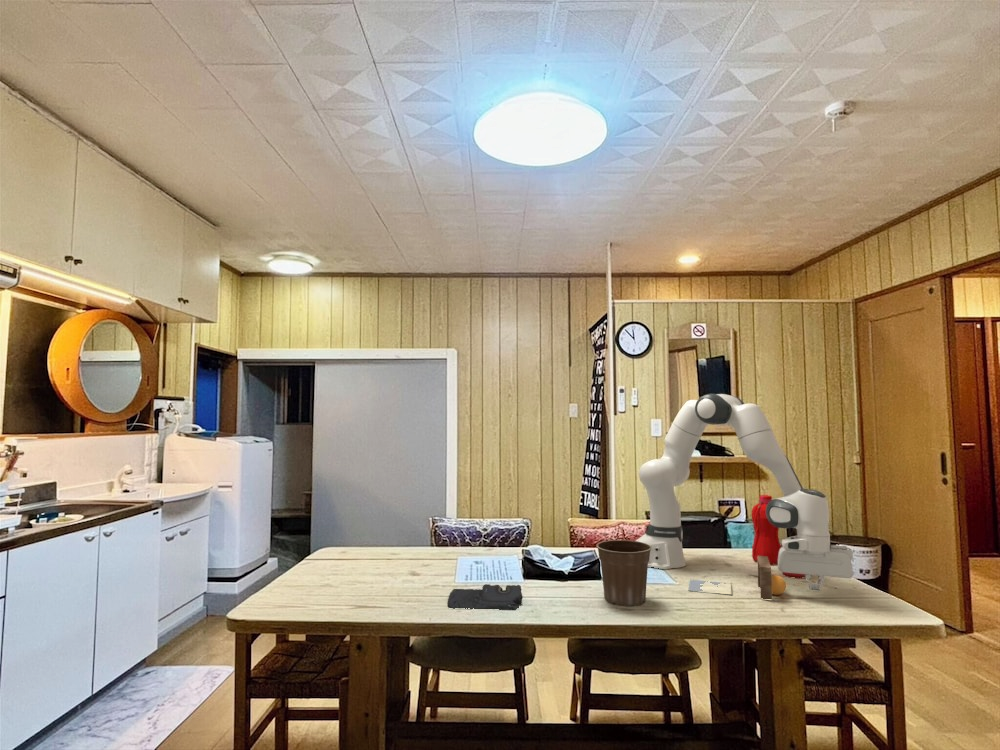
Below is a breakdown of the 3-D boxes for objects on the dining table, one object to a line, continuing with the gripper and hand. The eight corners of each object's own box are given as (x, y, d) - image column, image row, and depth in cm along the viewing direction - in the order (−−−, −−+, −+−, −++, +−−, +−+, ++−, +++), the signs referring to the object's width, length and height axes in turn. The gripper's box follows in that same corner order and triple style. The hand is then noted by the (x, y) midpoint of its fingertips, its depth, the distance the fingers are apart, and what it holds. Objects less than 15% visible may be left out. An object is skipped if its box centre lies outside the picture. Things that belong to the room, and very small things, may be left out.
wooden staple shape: (761, 599, 176) (760, 566, 177) (758, 586, 190) (757, 555, 191) (772, 600, 175) (771, 567, 176) (768, 587, 189) (767, 556, 190)
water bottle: (745, 561, 223) (743, 494, 224) (765, 558, 227) (764, 493, 229) (765, 566, 214) (763, 497, 216) (786, 563, 219) (784, 496, 221)
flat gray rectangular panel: (688, 590, 184) (688, 590, 184) (690, 580, 197) (690, 579, 197) (732, 595, 180) (732, 595, 180) (731, 584, 192) (731, 583, 192)
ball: (772, 573, 179) (791, 584, 178) (769, 568, 185) (787, 579, 183) (762, 590, 180) (781, 601, 178) (759, 584, 185) (777, 595, 184)
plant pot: (611, 611, 165) (611, 553, 166) (588, 594, 181) (587, 541, 182) (662, 606, 170) (661, 550, 171) (635, 590, 185) (634, 538, 186)
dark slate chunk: (451, 594, 181) (451, 579, 182) (522, 595, 181) (522, 580, 181) (445, 611, 166) (445, 594, 166) (522, 612, 165) (522, 595, 166)
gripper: (850, 544, 178) (851, 590, 177) (776, 538, 185) (777, 583, 184) (854, 548, 172) (856, 596, 171) (778, 542, 179) (779, 588, 179)
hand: (814, 589), depth 178 cm, fingers closed
